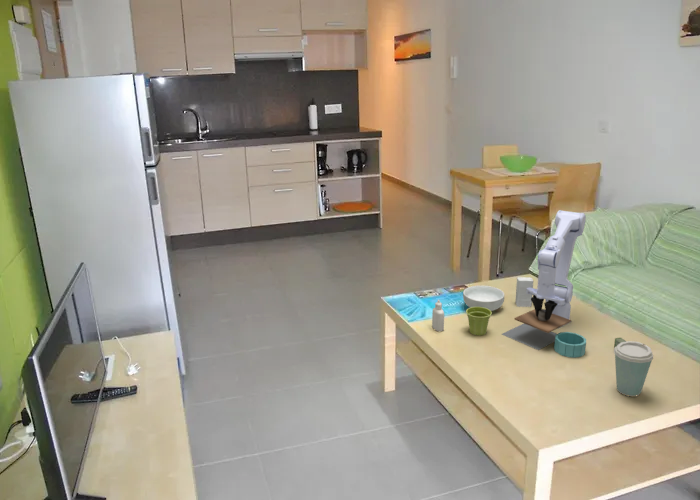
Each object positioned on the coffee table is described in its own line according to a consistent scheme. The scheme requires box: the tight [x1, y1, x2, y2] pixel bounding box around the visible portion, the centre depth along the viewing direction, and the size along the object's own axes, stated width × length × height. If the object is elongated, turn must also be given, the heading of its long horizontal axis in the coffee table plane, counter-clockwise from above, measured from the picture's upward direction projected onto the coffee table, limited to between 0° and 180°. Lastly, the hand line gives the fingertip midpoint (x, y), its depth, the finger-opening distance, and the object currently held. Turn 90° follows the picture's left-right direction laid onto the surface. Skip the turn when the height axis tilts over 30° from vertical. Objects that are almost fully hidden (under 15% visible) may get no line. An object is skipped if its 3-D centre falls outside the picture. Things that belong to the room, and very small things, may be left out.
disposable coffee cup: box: [613, 340, 654, 397], centre depth 166 cm, size 11×11×15 cm
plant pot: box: [465, 307, 493, 336], centre depth 206 cm, size 9×9×9 cm
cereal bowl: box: [462, 285, 505, 312], centre depth 227 cm, size 17×17×7 cm
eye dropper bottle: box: [431, 299, 445, 332], centre depth 209 cm, size 4×6×12 cm
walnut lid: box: [514, 308, 572, 333], centre depth 197 cm, size 14×14×4 cm
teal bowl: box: [553, 331, 587, 359], centre depth 191 cm, size 10×10×5 cm
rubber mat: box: [501, 323, 557, 351], centre depth 203 cm, size 16×16×1 cm
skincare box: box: [514, 276, 534, 308], centre depth 228 cm, size 6×4×12 cm
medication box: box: [613, 337, 626, 348], centre depth 188 cm, size 12×3×4 cm, turn 12°
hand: (542, 317), depth 198 cm, fingers closed on walnut lid, 3 cm apart
